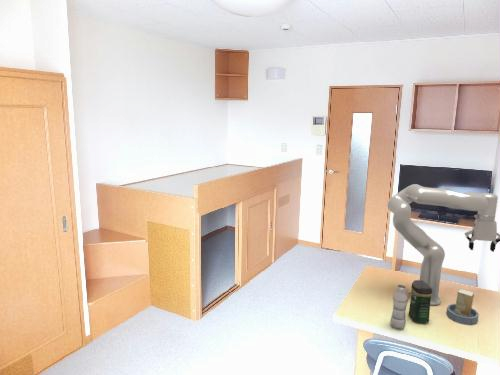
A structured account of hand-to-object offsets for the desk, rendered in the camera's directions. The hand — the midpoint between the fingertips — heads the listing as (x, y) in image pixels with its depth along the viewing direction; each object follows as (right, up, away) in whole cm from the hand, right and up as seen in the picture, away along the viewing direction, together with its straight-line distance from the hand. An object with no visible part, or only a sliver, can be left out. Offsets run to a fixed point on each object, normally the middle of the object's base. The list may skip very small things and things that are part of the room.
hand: (481, 250), depth 193 cm
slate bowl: (-16, -31, -10) cm, 36 cm away
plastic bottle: (-50, -33, -18) cm, 62 cm away
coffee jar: (-37, -31, -12) cm, 50 cm away
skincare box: (-15, -30, -10) cm, 35 cm away
